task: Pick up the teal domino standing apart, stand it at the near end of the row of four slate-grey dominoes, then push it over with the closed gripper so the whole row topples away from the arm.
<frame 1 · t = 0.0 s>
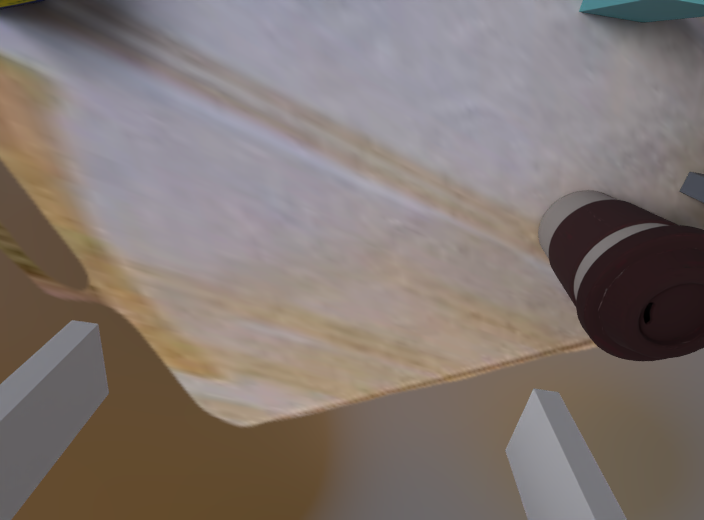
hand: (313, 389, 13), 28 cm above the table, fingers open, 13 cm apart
coffee cup: (575, 225, 40), on the table
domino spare: (616, 3, 31), on the table
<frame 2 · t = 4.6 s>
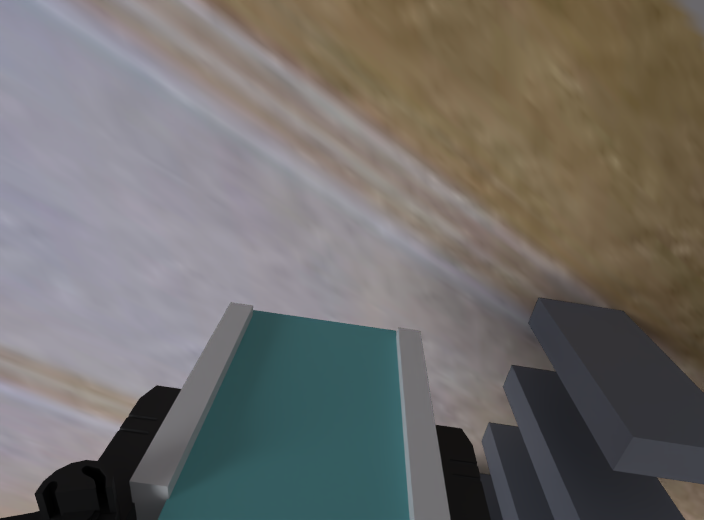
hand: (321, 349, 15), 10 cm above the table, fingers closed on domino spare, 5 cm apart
domino 2: (545, 382, 27), on the table
domino 4: (499, 484, 31), on the table
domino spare: (322, 341, 15), point 9 cm above the table, touching gripper
domino 3: (520, 437, 29), on the table
domino 1: (575, 317, 25), on the table
when the fingers open (0 cm above the table, at t = 8.9 s): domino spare stays where it is, on the table.
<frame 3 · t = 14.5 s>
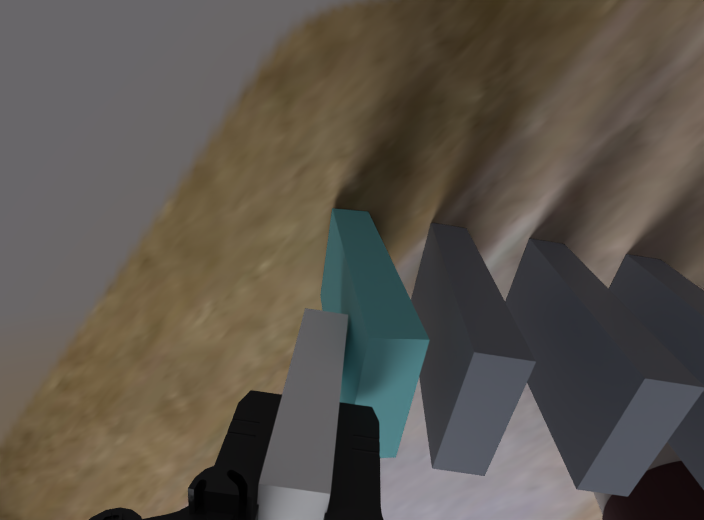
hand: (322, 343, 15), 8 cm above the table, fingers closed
domino 2: (529, 283, 22), on the table
coffee cup: (635, 441, 27), on the table
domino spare: (343, 255, 22), on the table, tilted 11°
domino 3: (621, 298, 22), on the table
domino 1: (436, 269, 22), on the table
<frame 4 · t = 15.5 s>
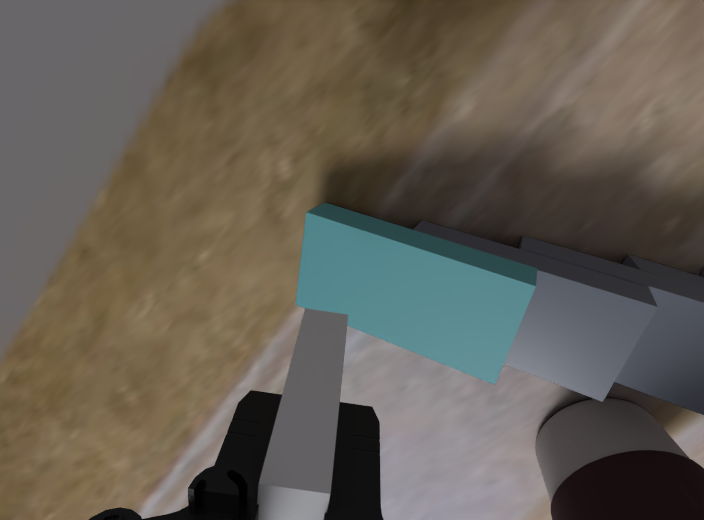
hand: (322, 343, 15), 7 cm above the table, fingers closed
domino 2: (504, 286, 21), point 1 cm above the table, tilted 69°, touching domino 1, domino 3
coffee cup: (590, 434, 27), on the table
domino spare: (309, 254, 21), point 1 cm above the table, tilted 69°, touching domino 1
domino 3: (607, 304, 21), point 1 cm above the table, tilted 77°, touching domino 2, domino 4
domino 1: (405, 271, 21), point 1 cm above the table, tilted 69°, touching domino 2, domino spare
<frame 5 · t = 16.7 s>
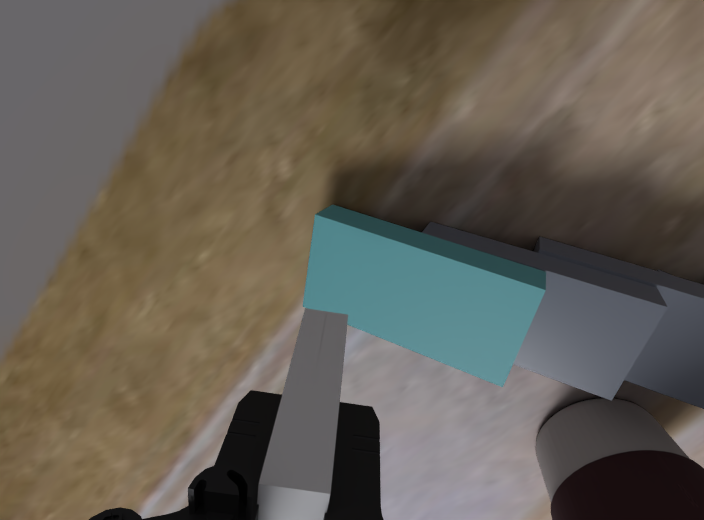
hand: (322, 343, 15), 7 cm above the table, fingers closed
domino 2: (520, 287, 21), point 1 cm above the table, tilted 71°, touching domino 1, domino 3
coffee cup: (590, 434, 27), on the table
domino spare: (317, 256, 21), point 1 cm above the table, tilted 69°, touching domino 1
domino 1: (414, 272, 21), point 1 cm above the table, tilted 70°, touching domino 2, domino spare
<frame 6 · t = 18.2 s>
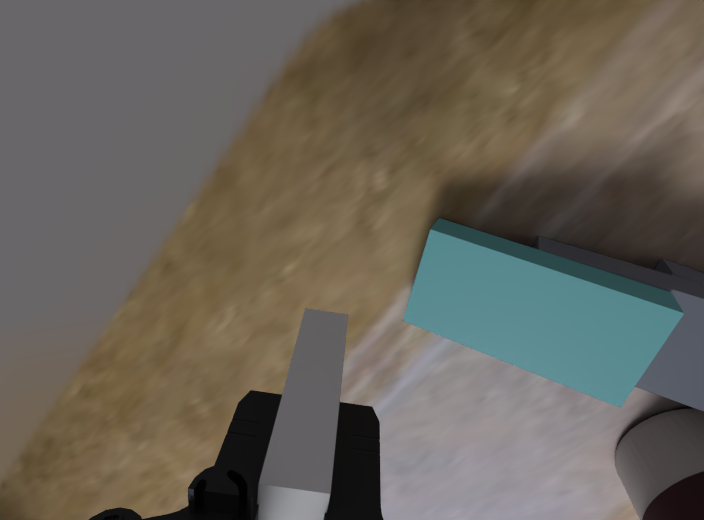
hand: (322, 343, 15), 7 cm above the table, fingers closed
domino 2: (636, 307, 21), point 1 cm above the table, tilted 71°, touching domino 1
coffee cup: (671, 444, 26), on the table
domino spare: (420, 270, 20), point 1 cm above the table, tilted 70°, touching domino 1
domino 1: (519, 287, 21), point 1 cm above the table, tilted 71°, touching domino 2, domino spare
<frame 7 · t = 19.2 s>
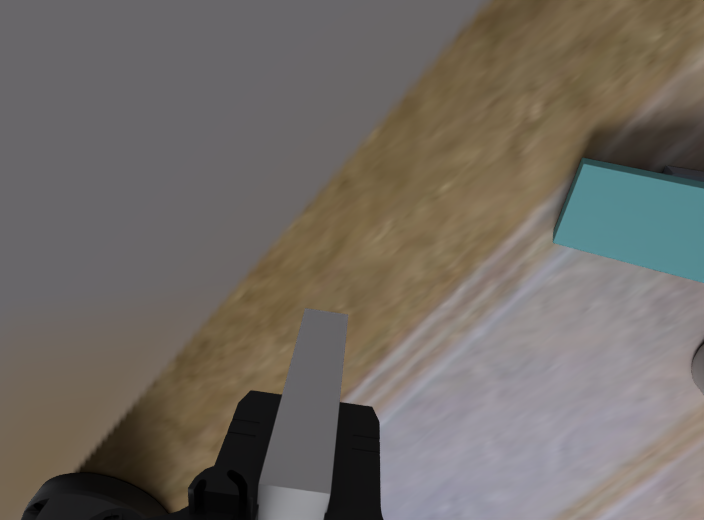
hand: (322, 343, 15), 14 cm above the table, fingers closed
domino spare: (567, 200, 26), point 1 cm above the table, tilted 70°, touching domino 1
domino 1: (651, 209, 25), point 1 cm above the table, tilted 71°, touching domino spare
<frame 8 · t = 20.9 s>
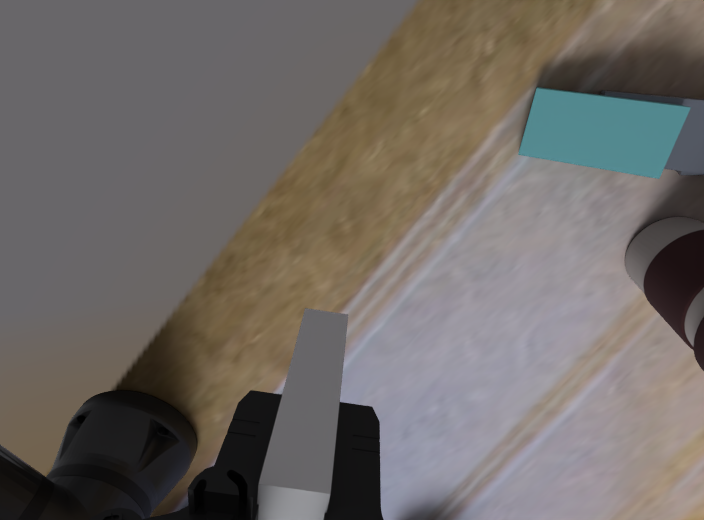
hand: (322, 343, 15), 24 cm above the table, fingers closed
coffee cup: (662, 250, 39), on the table
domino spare: (527, 121, 33), point 1 cm above the table, tilted 71°, touching domino 1
domino 1: (593, 124, 33), point 1 cm above the table, tilted 73°, touching domino 2, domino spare
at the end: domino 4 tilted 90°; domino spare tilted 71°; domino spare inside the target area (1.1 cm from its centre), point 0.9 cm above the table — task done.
